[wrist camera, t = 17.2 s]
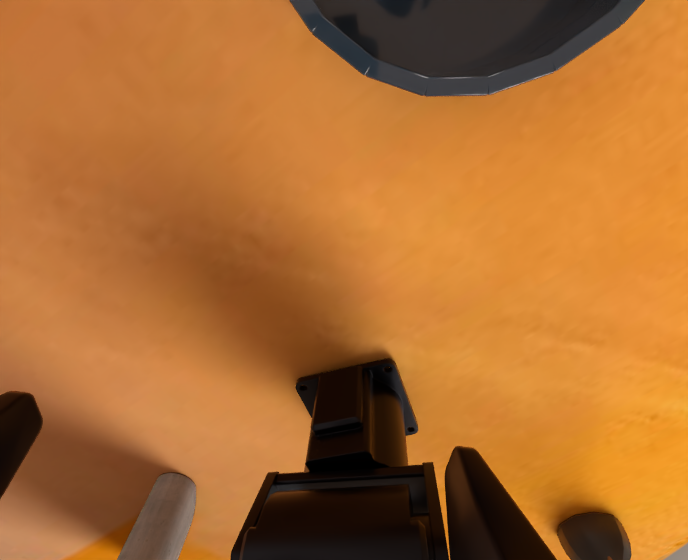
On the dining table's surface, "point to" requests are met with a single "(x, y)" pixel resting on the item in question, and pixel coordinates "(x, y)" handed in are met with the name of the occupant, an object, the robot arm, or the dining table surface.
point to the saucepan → (461, 39)
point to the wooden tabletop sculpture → (594, 538)
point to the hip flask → (162, 520)
